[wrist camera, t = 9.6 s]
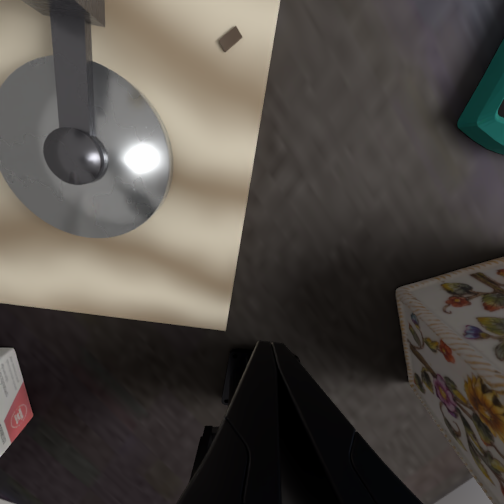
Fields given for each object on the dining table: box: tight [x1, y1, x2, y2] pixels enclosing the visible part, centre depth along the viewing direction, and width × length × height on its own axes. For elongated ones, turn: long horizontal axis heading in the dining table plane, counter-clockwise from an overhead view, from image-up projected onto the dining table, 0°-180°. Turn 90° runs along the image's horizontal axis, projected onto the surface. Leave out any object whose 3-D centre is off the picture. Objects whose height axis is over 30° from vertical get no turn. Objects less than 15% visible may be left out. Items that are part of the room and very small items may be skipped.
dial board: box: [0, 0, 280, 331], centre depth 18 cm, size 24×20×2 cm
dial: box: [0, 0, 174, 238], centre depth 14 cm, size 14×10×5 cm
